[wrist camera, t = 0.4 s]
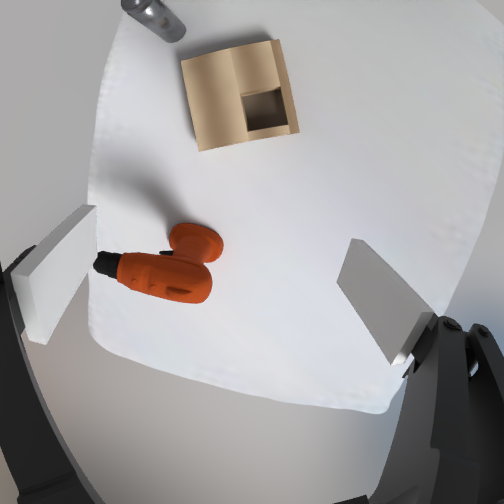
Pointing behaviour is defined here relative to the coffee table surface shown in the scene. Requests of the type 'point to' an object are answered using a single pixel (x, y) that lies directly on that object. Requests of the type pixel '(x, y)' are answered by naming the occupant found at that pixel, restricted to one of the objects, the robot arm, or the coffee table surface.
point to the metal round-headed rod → (155, 18)
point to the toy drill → (168, 266)
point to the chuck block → (239, 95)
